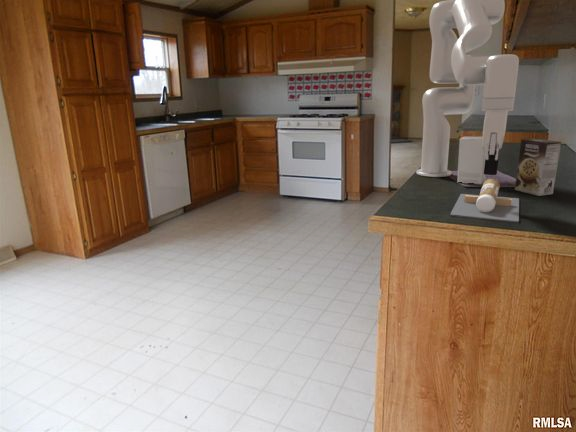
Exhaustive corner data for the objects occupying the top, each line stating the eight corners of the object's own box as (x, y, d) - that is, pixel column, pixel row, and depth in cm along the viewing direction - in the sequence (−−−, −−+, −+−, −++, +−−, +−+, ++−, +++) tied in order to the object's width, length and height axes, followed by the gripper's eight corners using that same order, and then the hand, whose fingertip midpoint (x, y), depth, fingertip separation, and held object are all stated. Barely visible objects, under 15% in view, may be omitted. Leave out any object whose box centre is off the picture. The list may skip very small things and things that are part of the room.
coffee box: (513, 190, 139) (520, 139, 134) (528, 187, 141) (535, 137, 136) (538, 196, 130) (546, 142, 126) (554, 194, 132) (562, 140, 128)
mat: (460, 194, 134) (461, 188, 134) (518, 199, 127) (519, 192, 126) (450, 215, 114) (450, 207, 113) (518, 222, 107) (519, 214, 106)
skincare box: (485, 181, 151) (489, 136, 147) (481, 185, 146) (486, 138, 141) (460, 179, 156) (463, 135, 151) (455, 182, 150) (459, 137, 146)
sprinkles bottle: (488, 175, 123) (482, 193, 113) (503, 183, 122) (498, 203, 112) (479, 187, 126) (472, 206, 115) (493, 196, 125) (488, 216, 114)
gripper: (484, 103, 121) (477, 168, 126) (480, 106, 108) (472, 178, 114) (514, 103, 118) (506, 170, 123) (513, 106, 105) (504, 180, 110)
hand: (490, 174), depth 118 cm, fingers closed
